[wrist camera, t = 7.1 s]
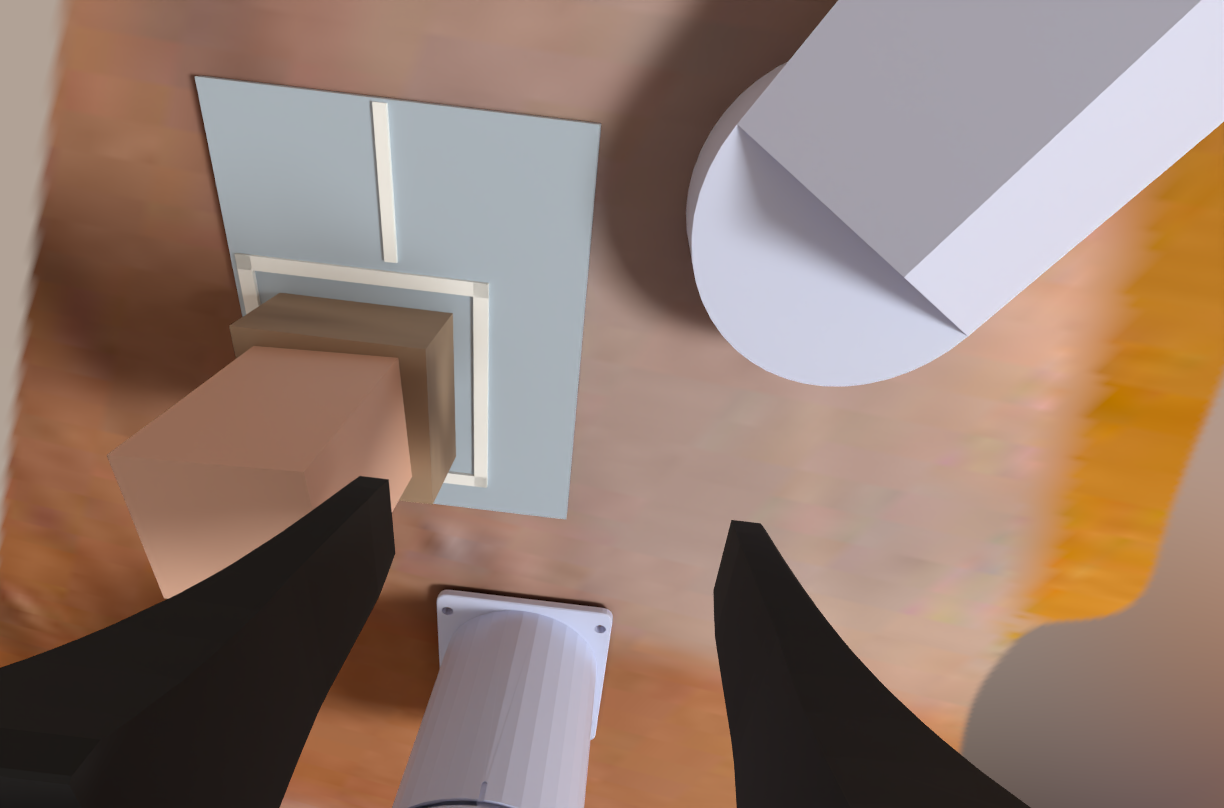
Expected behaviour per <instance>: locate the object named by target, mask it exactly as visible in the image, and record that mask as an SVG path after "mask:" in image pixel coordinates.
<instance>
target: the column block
mask: <svg viewBox="0 0 1224 808" xmlns="http://www.w3.org/2000/svg"><path fill="white" fill-rule="evenodd" d="M107 457H108V460H109V462H110V465H111V467H112V470H113V472H114V475H115V477H116V480H117V482H118V485H119V487H120V490H121V492H122V495H123V497H124V500H125V502H126V505H127V507H128V510H129V512H130V515H131V517H132V520H133V522H134V525H135V527H136V530H137V532H138V535H139V537H140V540H141V542H142V545H143V547H144V550H145V552H146V555H147V557H148V560H149V562H150V564H151V567H152V569H153V572H154V574H155V577H156V579H157V582H158V584H159V587H160V589H161V592H162V594H163V597H164V598H167V599H169V598H171V597H173V596H175V595H177V594H179V593H181V592H183V591H184V590H186V589H188V588H190V587H192V586H194V585H196V584H197V583H199V582H201V581H203V580H205V579H207V578H208V577H210V576H212V575H214V574H215V573H217V572H219V571H221V570H222V569H224V568H226V567H227V566H229V565H231V564H233V563H234V562H236V561H237V560H239V559H240V558H242V557H244V556H245V555H247V554H248V553H250V552H251V551H253V550H254V549H256V548H258V547H259V546H261V545H262V544H264V543H265V542H267V541H268V540H270V539H272V538H273V537H275V536H276V535H278V534H279V533H281V532H282V531H284V530H285V529H286V528H288V527H289V526H291V525H292V524H294V523H295V522H296V521H298V520H299V519H301V518H302V517H304V516H305V515H306V514H308V513H309V512H311V511H312V510H313V509H315V508H316V507H317V506H319V505H320V504H322V503H323V502H324V501H326V500H327V499H328V498H330V497H331V496H333V495H334V494H335V493H337V492H338V491H339V490H341V489H342V488H343V487H345V486H346V485H348V484H349V483H350V482H352V481H353V480H355V479H356V478H358V477H359V476H365V477H373V478H382V479H389V488H390V499H391V510H392V511H393V510H394V508H395V506H396V504H397V503H398V501H399V499H400V497H401V495H402V494H403V492H404V490H405V488H406V487H407V485H408V483H409V481H410V479H411V478H412V472H411V464H410V455H409V446H408V438H407V429H406V420H405V412H404V403H403V394H402V386H401V377H400V368H399V360H398V358H396V357H384V356H371V355H359V354H347V353H335V352H323V351H310V350H298V349H286V348H274V347H262V346H253V347H251V348H250V349H249V350H247V351H246V352H245V353H243V354H242V355H241V356H239V357H238V358H236V359H235V360H234V361H232V362H231V363H230V364H228V365H227V366H226V367H224V368H223V369H222V370H220V371H219V372H218V373H216V374H215V375H214V376H212V377H211V378H210V379H208V380H207V381H206V382H204V383H203V384H202V385H200V386H199V387H197V388H196V389H195V390H193V391H192V392H191V393H189V394H188V395H187V396H185V397H184V398H183V399H181V400H180V401H179V402H177V403H176V404H175V405H173V406H172V407H171V408H169V409H168V410H167V411H165V412H164V413H163V414H161V415H160V416H158V417H157V418H156V419H154V420H153V421H152V422H150V423H149V424H148V425H146V426H145V427H144V428H142V429H141V430H140V431H138V432H137V433H136V434H134V435H133V436H132V437H130V438H129V439H128V440H126V441H125V442H124V443H122V444H121V445H119V446H118V447H117V448H115V449H114V450H113V451H111V452H110V453H109V454H107Z"/></svg>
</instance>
